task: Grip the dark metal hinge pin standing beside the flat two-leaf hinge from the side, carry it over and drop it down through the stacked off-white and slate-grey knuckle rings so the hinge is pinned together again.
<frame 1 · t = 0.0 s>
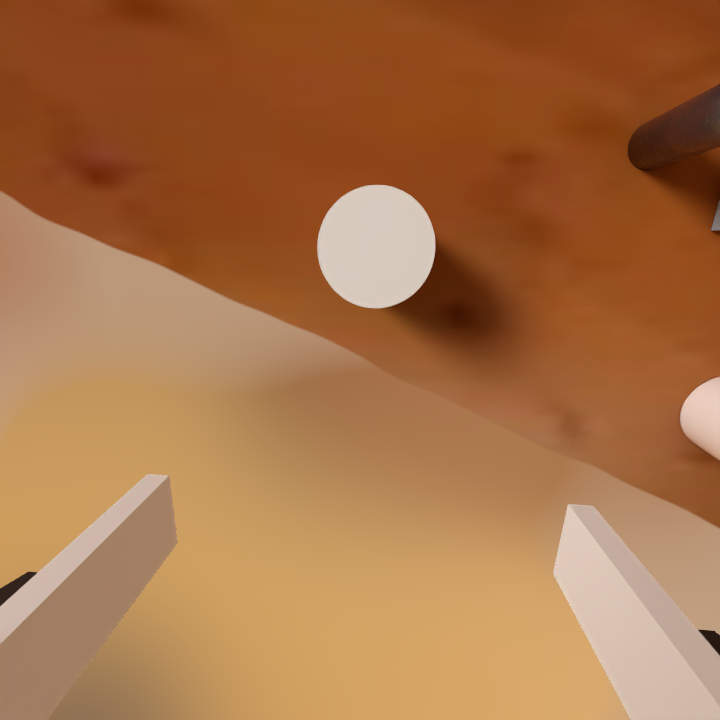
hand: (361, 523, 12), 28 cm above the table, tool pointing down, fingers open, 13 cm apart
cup: (378, 252, 37), on the table
candle holder: (718, 410, 39), on the table
pin: (651, 145, 33), on the table
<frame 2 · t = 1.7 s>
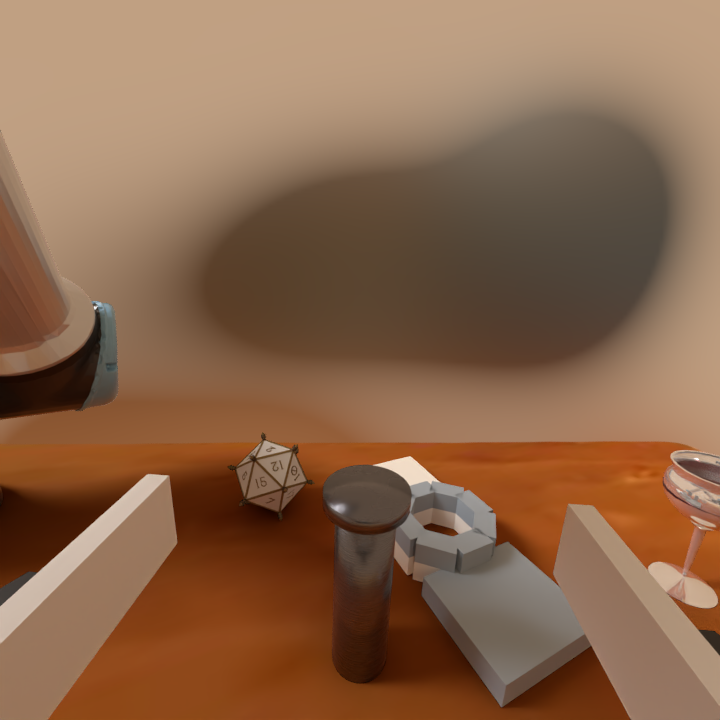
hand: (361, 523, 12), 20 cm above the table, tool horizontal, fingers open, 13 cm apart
hinge leaf a: (438, 545, 37), on the table
hinge leaf b: (438, 545, 37), on the table
pin: (359, 652, 27), on the table
game die: (272, 506, 42), on the table
wineglass: (680, 585, 34), on the table
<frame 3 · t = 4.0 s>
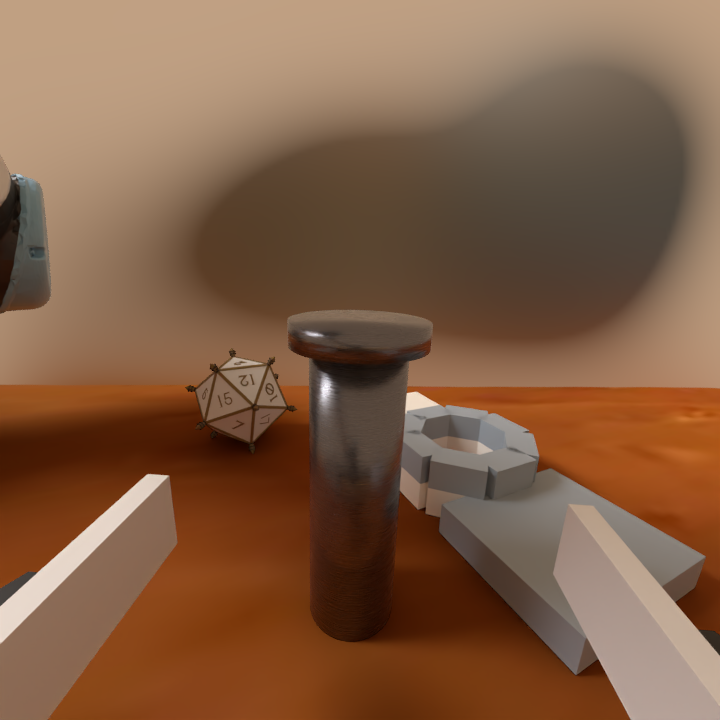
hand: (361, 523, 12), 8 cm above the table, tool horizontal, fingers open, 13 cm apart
hinge leaf a: (457, 478, 28), on the table
hinge leaf b: (457, 478, 28), on the table
pin: (351, 600, 18), on the table
game die: (244, 441, 33), on the table
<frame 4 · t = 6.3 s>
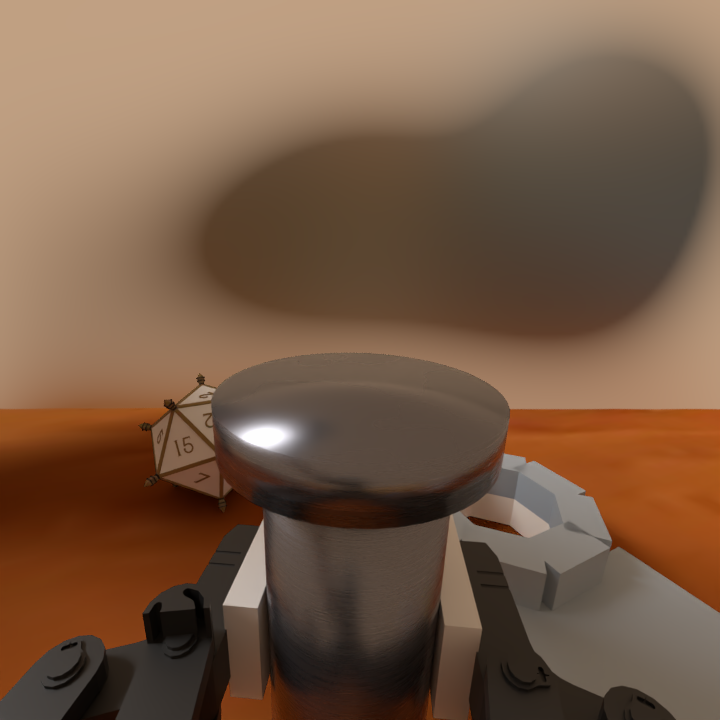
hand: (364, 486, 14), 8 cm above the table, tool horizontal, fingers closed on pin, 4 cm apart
hinge leaf a: (490, 553, 21), on the table
hinge leaf b: (490, 553, 21), on the table
game die: (215, 490, 27), on the table
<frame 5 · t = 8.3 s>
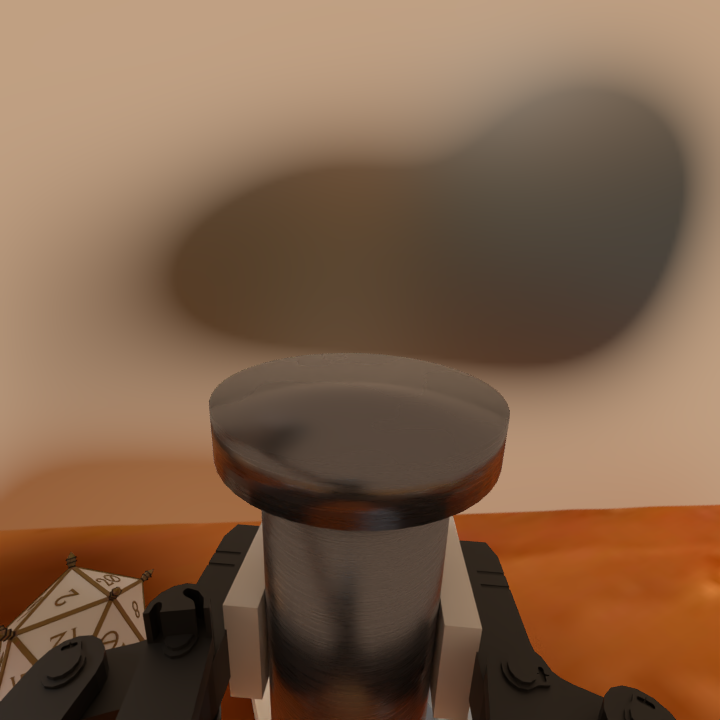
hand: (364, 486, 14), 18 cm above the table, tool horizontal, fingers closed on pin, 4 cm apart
game die: (88, 690, 23), on the table
when the fingers open (10 cm above the table, at t = 10.8 s): pin drops 2 cm, resting in hinge leaf a.
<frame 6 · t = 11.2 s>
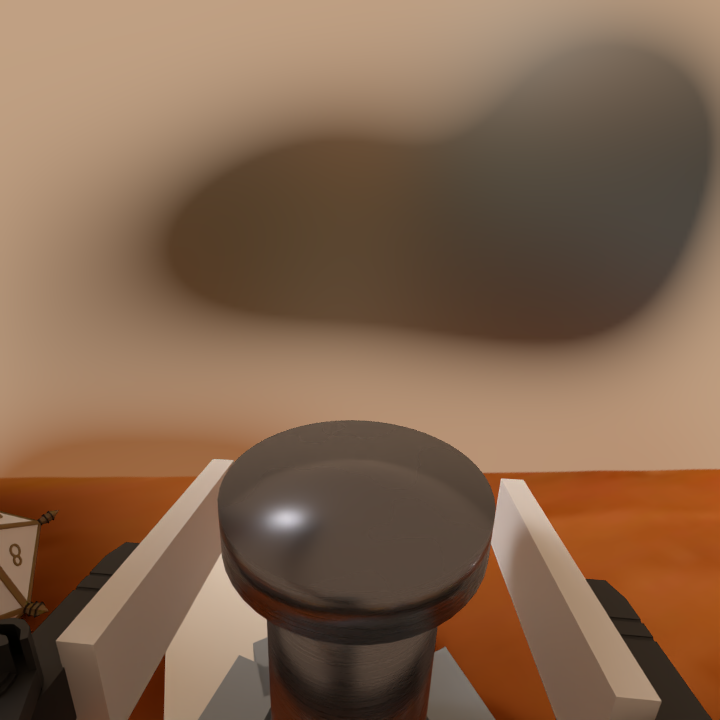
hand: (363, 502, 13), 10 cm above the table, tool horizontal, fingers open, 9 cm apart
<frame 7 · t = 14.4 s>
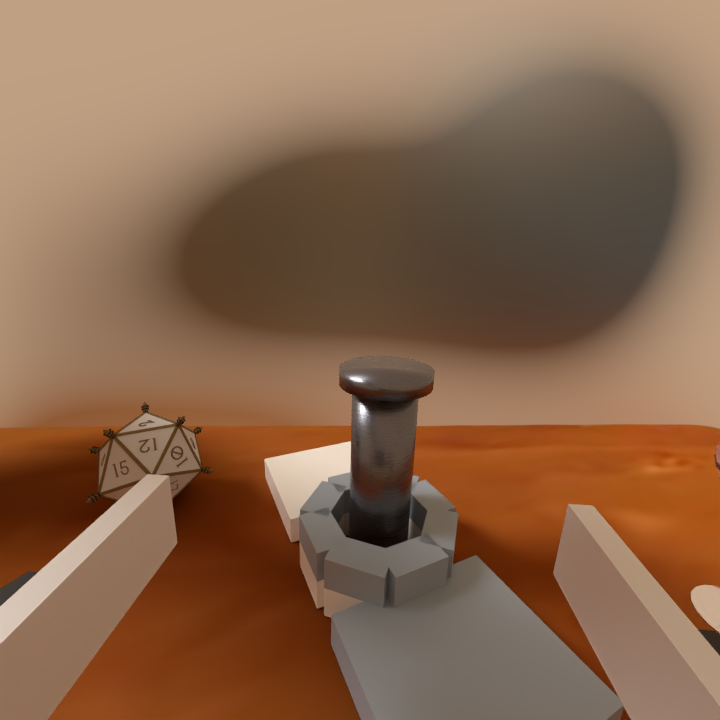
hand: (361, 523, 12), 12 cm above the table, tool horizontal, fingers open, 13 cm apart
hinge leaf a: (377, 560, 25), on the table
hinge leaf b: (377, 560, 25), on the table
pin: (376, 561, 25), resting in hinge leaf a
game die: (157, 504, 31), on the table
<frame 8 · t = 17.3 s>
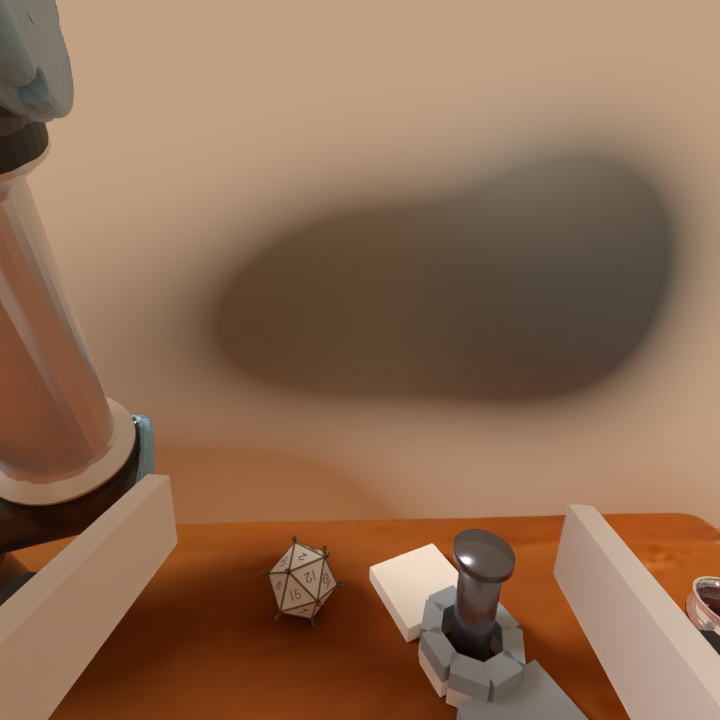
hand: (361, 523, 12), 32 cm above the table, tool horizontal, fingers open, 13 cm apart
hinge leaf a: (467, 657, 39), on the table
hinge leaf b: (467, 657, 39), on the table
pin: (467, 658, 39), resting in hinge leaf a
game die: (303, 607, 44), on the table
wineglass: (702, 705, 35), on the table
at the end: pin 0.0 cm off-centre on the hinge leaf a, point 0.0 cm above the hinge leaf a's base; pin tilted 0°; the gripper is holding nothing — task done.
